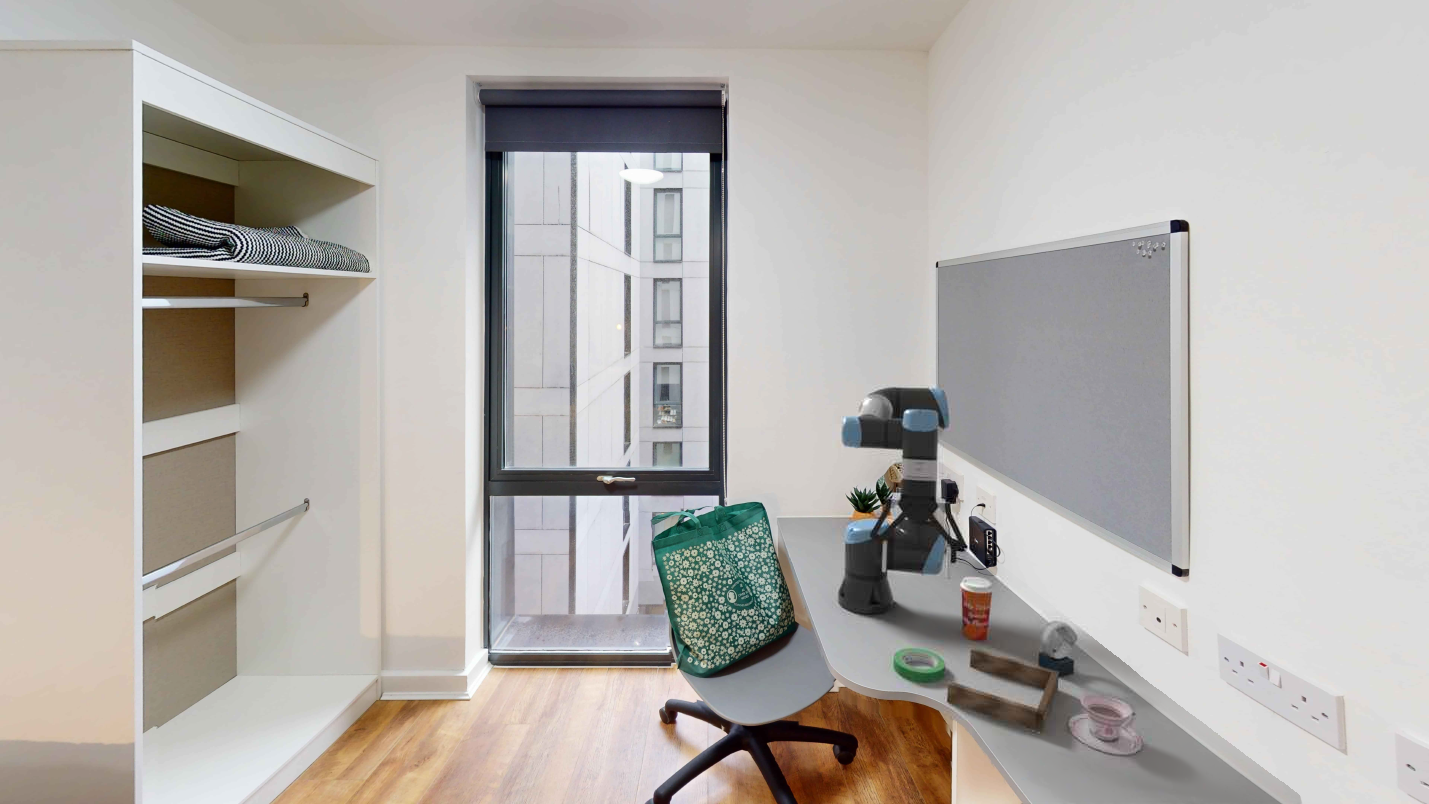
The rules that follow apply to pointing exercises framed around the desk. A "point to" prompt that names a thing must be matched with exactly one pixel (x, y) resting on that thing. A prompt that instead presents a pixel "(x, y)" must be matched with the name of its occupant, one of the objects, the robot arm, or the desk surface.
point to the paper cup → (976, 607)
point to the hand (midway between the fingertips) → (915, 574)
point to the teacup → (1105, 725)
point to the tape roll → (917, 673)
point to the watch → (1059, 658)
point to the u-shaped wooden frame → (1002, 706)
